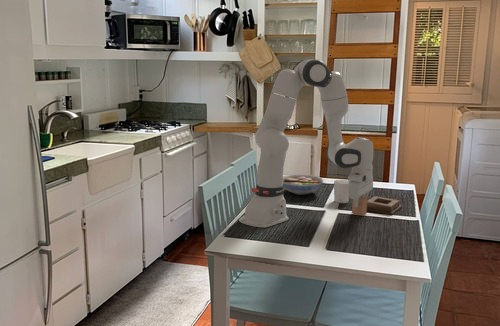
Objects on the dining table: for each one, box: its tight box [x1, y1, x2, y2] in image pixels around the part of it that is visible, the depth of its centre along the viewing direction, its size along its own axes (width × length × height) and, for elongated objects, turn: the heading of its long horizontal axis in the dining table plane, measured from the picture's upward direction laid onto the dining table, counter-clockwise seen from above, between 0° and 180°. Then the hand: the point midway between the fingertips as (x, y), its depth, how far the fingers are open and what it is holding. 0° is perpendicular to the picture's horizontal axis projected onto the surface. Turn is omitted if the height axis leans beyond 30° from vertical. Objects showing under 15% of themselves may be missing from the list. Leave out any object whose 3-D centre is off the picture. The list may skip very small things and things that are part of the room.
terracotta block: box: [351, 196, 368, 216], centre depth 213 cm, size 5×5×7 cm
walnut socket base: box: [367, 195, 403, 216], centre depth 221 cm, size 14×14×4 cm
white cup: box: [333, 179, 350, 204], centre depth 230 cm, size 8×8×10 cm
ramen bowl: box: [283, 173, 325, 196], centre depth 244 cm, size 25×23×8 cm
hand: (360, 203), depth 213 cm, fingers open, 8 cm apart
